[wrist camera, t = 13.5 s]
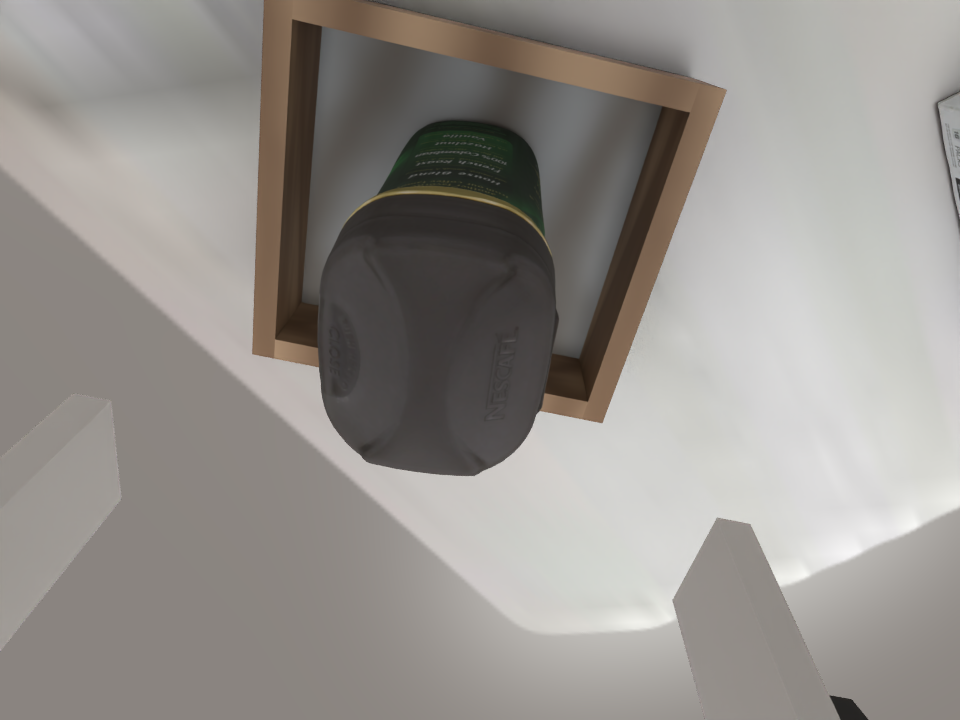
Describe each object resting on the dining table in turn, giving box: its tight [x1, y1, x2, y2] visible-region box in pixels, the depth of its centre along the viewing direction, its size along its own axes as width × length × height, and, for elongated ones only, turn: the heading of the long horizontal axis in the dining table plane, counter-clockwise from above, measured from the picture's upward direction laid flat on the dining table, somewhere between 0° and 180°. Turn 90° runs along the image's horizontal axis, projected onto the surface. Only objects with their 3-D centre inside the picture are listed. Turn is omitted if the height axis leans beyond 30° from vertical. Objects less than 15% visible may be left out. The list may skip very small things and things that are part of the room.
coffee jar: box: [317, 120, 559, 476], centre depth 27 cm, size 10×8×19 cm
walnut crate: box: [252, 0, 727, 423], centre depth 33 cm, size 20×18×6 cm
